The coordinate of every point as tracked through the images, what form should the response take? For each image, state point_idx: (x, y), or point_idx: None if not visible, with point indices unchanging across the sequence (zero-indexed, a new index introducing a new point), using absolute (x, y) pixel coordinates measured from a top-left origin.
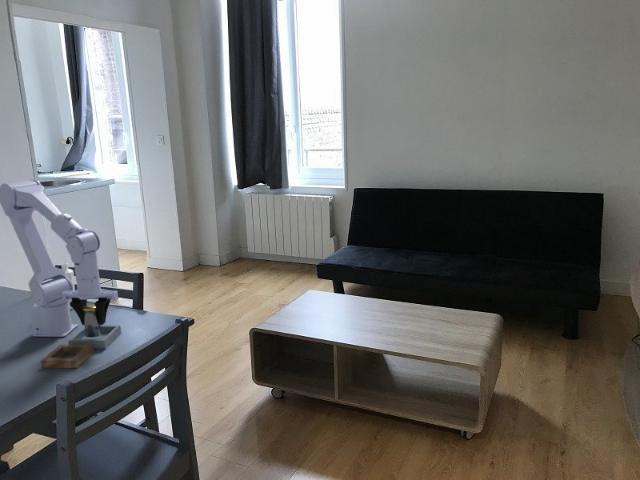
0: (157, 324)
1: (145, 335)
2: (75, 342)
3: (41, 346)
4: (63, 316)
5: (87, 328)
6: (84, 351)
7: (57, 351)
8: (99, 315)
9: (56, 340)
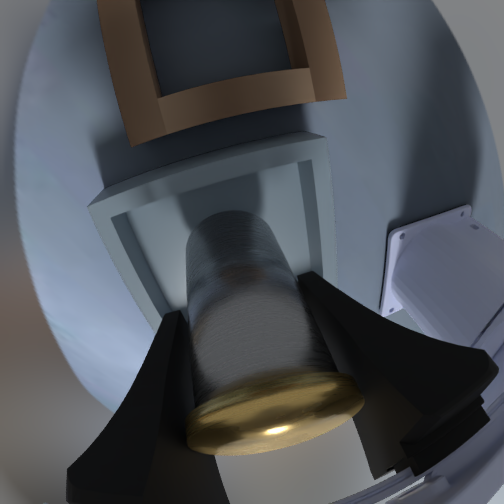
0: (122, 395)
1: (77, 340)
2: (276, 143)
3: (425, 139)
4: (441, 300)
5: (241, 245)
6: (116, 55)
7: (296, 16)
8: (155, 373)
9: (402, 198)
